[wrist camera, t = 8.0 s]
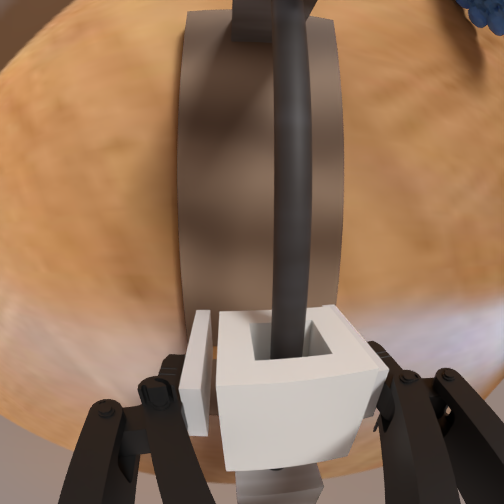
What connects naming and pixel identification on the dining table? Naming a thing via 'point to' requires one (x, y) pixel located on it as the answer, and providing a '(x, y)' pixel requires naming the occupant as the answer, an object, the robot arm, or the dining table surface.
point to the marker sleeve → (289, 391)
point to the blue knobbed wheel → (486, 14)
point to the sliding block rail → (261, 185)
